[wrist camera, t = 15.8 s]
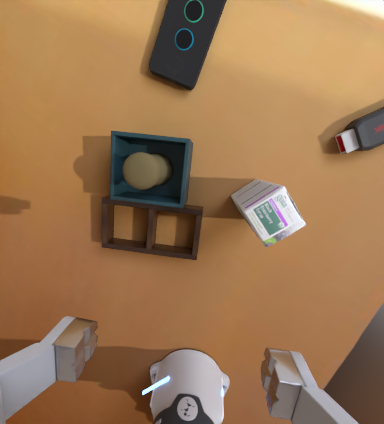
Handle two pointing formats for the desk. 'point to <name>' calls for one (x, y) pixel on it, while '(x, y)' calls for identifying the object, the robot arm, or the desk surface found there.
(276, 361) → the robot arm
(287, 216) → the syrup box
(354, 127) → the usb drive
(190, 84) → the smart home device
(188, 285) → the desk surface
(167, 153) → the bin
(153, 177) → the olive pepper mill
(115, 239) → the holder
